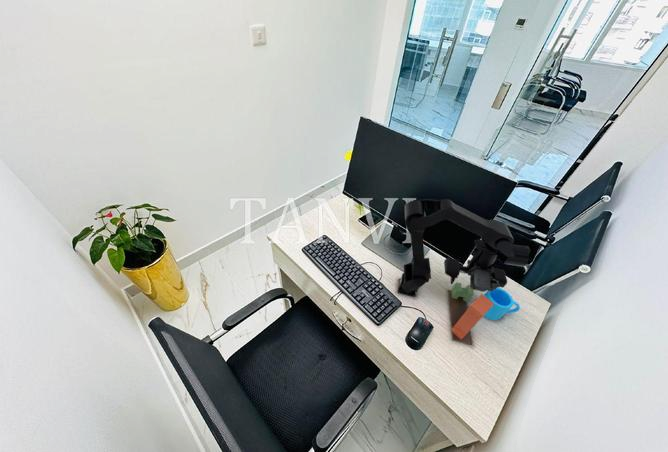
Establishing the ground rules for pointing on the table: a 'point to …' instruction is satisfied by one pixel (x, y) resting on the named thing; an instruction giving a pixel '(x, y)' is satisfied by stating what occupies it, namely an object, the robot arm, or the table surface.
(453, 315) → the board
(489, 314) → the mug
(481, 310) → the letter I
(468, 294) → the green knobbly lump
